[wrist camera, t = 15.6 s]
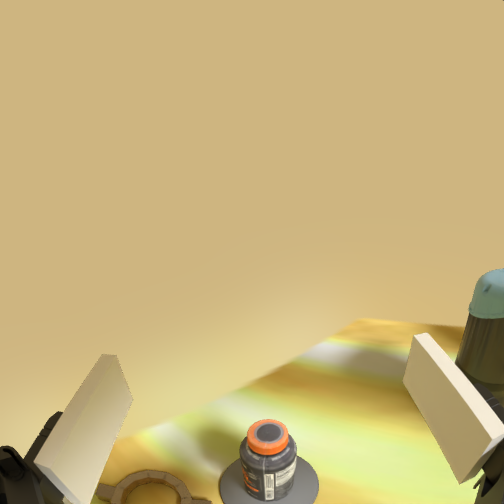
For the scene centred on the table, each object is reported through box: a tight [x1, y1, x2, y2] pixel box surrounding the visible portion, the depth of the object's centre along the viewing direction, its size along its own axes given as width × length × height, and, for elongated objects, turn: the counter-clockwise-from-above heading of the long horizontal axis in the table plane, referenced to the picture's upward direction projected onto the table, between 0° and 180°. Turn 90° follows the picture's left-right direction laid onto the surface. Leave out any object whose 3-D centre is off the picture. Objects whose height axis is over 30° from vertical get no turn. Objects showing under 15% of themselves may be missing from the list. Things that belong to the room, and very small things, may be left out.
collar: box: [96, 470, 212, 504], centre depth 25 cm, size 15×10×1 cm
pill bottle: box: [240, 419, 297, 502], centre depth 27 cm, size 6×6×11 cm
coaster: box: [220, 455, 319, 504], centre depth 28 cm, size 12×12×1 cm
